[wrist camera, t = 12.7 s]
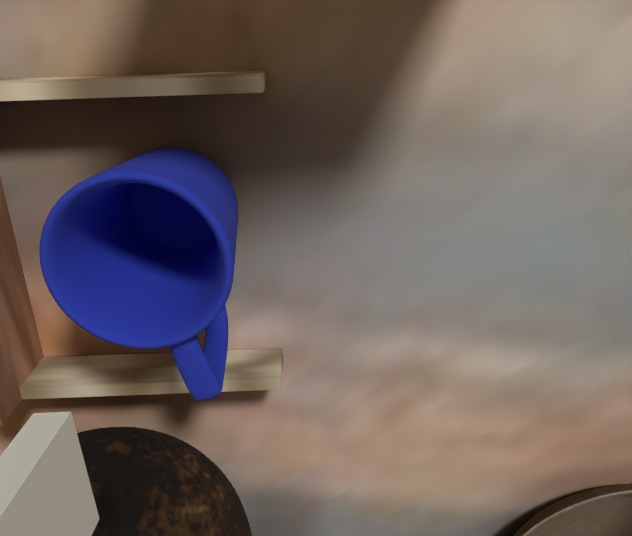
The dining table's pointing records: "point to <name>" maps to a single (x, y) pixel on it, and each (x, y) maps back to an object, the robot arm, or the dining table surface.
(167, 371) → the channel
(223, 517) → the dark brown vase
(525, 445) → the dining table surface
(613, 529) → the plant saucer
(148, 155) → the mug
